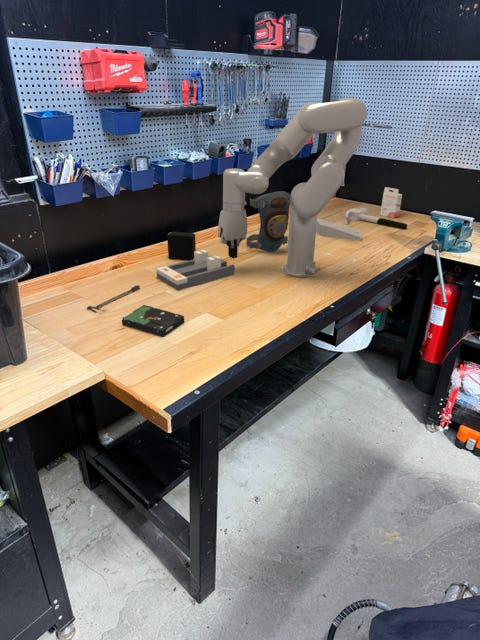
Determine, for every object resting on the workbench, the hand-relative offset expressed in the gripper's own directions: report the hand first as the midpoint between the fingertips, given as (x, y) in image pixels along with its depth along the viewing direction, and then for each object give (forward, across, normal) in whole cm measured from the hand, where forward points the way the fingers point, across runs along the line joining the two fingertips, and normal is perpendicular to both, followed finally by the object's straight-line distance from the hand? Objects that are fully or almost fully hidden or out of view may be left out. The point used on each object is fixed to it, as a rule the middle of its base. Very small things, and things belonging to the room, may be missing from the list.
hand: (232, 256), depth 165 cm
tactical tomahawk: (+7, +44, -2) cm, 45 cm away
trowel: (+5, -67, -8) cm, 68 cm away
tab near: (+3, +9, 0) cm, 9 cm away
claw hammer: (+5, -96, -8) cm, 96 cm away
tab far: (+3, +9, -8) cm, 12 cm away
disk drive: (+6, +43, +19) cm, 48 cm away
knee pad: (+5, -27, -12) cm, 30 cm away
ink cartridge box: (+4, -115, -14) cm, 116 cm away
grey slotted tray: (+6, +14, -4) cm, 15 cm away
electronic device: (+6, +8, -23) cm, 25 cm away
